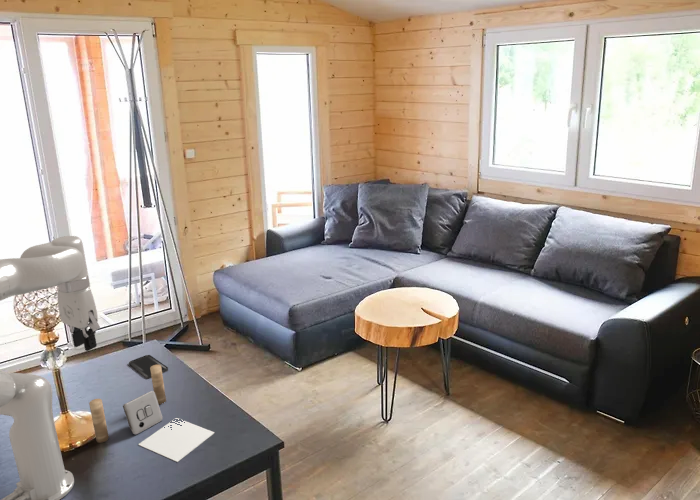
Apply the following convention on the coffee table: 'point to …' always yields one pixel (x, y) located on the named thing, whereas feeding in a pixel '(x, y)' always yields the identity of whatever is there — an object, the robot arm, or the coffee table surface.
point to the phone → (146, 365)
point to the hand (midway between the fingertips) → (85, 346)
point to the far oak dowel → (158, 383)
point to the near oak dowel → (99, 420)
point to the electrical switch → (142, 412)
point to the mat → (176, 439)
